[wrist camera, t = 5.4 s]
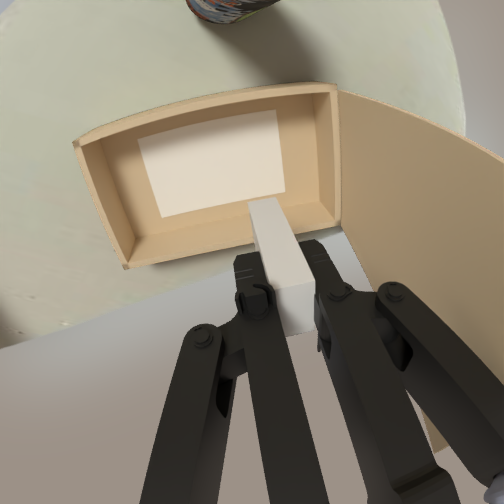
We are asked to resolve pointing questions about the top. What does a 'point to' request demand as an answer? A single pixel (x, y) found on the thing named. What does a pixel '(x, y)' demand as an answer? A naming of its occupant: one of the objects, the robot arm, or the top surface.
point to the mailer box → (214, 169)
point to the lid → (427, 219)
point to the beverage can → (227, 9)
